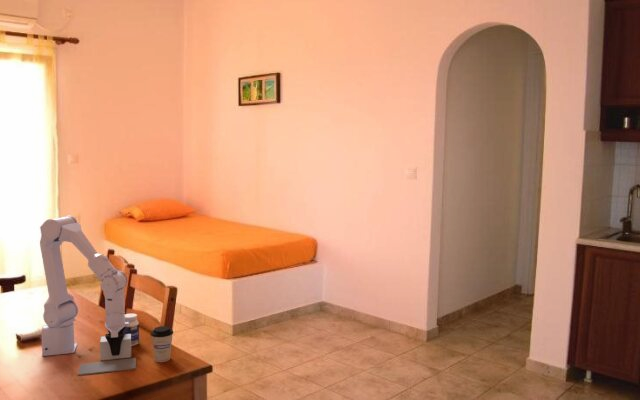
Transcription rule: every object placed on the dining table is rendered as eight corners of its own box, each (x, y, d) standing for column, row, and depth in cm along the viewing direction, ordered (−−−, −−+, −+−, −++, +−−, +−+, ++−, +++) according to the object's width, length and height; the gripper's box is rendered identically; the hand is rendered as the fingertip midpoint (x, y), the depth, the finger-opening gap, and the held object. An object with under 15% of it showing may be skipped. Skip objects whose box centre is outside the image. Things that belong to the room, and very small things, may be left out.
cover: (100, 360, 168) (100, 342, 168) (101, 354, 173) (101, 336, 172) (131, 357, 171) (130, 339, 170) (131, 351, 176) (130, 333, 175)
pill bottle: (133, 347, 179) (132, 318, 178) (118, 346, 180) (117, 317, 179) (142, 341, 185) (141, 313, 184) (127, 340, 186) (126, 312, 185)
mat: (77, 375, 157) (77, 374, 157) (80, 365, 165) (80, 363, 164) (135, 369, 162) (135, 367, 162) (135, 359, 170) (135, 357, 169)
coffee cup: (153, 355, 173) (153, 325, 172) (175, 354, 173) (175, 324, 172) (148, 364, 166) (148, 332, 165) (171, 363, 166) (171, 332, 165)
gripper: (127, 316, 165) (128, 358, 166) (128, 302, 178) (129, 342, 180) (103, 318, 163) (104, 361, 164) (106, 304, 176) (107, 344, 178)
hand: (116, 351), depth 172 cm, fingers open, 5 cm apart
